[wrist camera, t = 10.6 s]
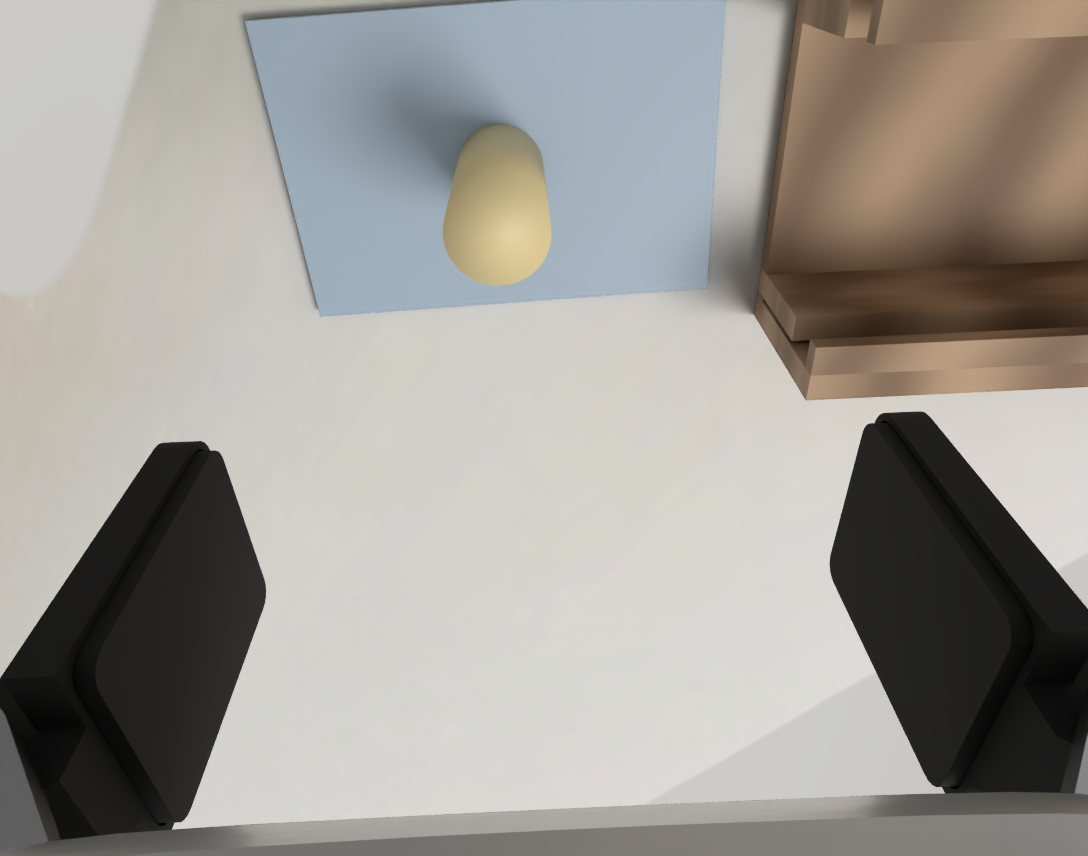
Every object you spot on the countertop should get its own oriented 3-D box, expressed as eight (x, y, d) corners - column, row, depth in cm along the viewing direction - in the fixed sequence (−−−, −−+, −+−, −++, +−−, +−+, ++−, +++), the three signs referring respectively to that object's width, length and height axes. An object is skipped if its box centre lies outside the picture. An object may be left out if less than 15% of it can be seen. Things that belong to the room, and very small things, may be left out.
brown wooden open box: (1372, -80, 25) (1625, -78, 19) (1188, 295, 32) (1330, 375, 27) (805, -56, 25) (892, -48, 19) (754, 315, 32) (805, 400, 26)
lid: (719, -18, 26) (791, 4, 19) (702, 278, 32) (751, 373, 25) (253, 18, 26) (163, 52, 19) (325, 306, 32) (275, 408, 25)
